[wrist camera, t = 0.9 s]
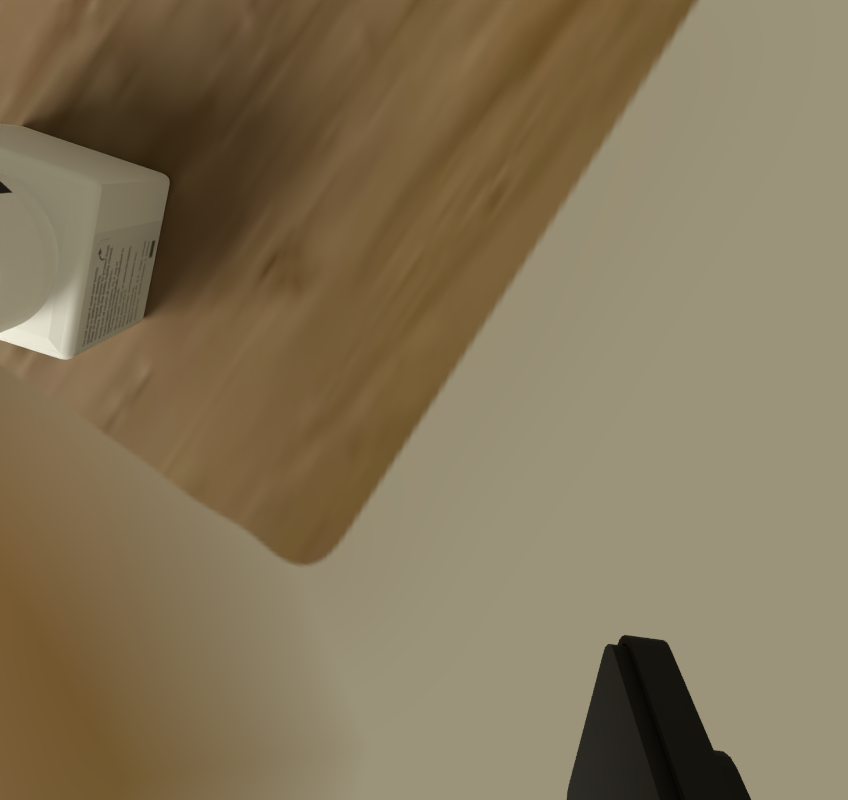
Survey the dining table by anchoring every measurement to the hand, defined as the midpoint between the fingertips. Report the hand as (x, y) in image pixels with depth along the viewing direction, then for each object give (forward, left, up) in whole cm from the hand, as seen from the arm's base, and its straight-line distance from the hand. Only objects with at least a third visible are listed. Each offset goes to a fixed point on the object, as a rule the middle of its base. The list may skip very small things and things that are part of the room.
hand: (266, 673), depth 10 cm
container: (+11, -12, -28) cm, 32 cm away
